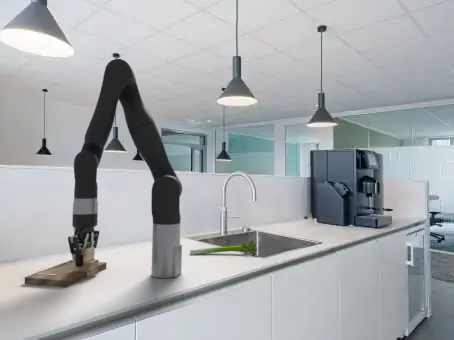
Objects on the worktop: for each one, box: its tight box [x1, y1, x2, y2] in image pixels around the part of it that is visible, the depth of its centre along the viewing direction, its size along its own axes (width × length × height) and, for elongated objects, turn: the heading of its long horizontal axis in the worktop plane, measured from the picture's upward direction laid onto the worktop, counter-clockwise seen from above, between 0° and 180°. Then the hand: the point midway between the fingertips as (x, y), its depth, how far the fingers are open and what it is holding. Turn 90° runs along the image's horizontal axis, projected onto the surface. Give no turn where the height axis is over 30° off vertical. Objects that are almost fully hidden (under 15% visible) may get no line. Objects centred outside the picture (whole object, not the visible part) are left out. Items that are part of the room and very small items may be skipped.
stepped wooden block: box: [71, 247, 99, 278], centre depth 104 cm, size 8×4×8 cm, turn 80°
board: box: [24, 259, 107, 289], centre depth 104 cm, size 14×21×2 cm, turn 170°
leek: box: [189, 240, 258, 256], centre depth 138 cm, size 6×7×30 cm
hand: (83, 264), depth 104 cm, fingers closed on stepped wooden block, 4 cm apart
